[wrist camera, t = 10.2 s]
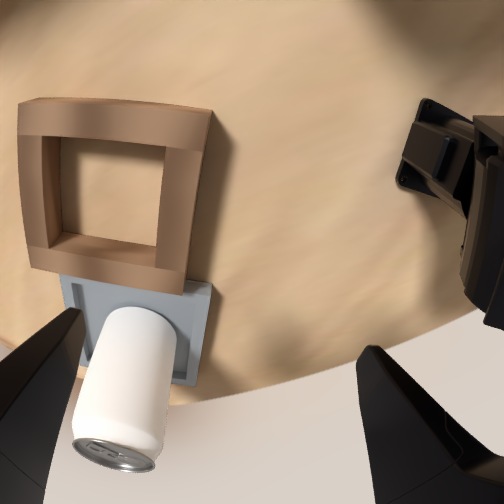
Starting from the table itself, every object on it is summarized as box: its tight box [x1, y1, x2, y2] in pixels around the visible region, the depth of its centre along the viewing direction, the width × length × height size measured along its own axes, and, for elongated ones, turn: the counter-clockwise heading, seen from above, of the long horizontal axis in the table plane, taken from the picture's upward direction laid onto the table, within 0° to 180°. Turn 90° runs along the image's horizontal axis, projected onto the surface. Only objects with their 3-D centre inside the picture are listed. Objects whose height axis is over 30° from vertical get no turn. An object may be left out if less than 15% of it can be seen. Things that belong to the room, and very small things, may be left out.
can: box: [72, 306, 177, 473], centre depth 21 cm, size 6×6×12 cm
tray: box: [59, 274, 212, 387], centre depth 26 cm, size 12×12×2 cm
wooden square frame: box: [17, 98, 212, 296], centre depth 19 cm, size 12×12×2 cm
